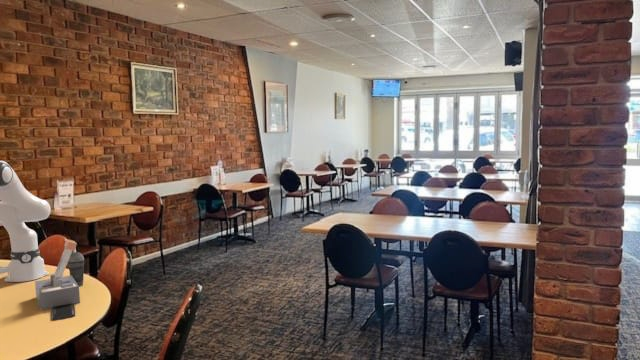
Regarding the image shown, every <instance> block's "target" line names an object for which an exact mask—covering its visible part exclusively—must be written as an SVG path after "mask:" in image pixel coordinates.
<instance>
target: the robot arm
mask: <svg viewBox="0 0 640 360" xmlns="http://www.w3.org/2000/svg"><path fill="white" fill-rule="evenodd" d="M51 209H52V208H51V205H50V203H49V202H48V201H47V200H45V199H43V198H40V197H37V196H36V195H34V194H33V193H31V192H30V191H28V189H26V188H25V186H24V184H23V183H22V182H21V180H20V178H19V175H17V173H16V172H15V170H14V169H13V168H12V167H11V166H10V164H8V162H7V161H4V160H2V159H1V160H0V224H1V226H3V227H4V229H5V230H6V231H7V233H8V235H9V241H10V248H11V251H10V259H11V261H9V263H8V264H7V266H4V265H2V266H1V265H0V275H3V274H6V273H7V276H6V277H5V279H3V280H4V282H7V283H8V282H11V283H22V282H29V281H35V280H38V279H41V278H43V277H46V276H50V272H49V271H47V270H46V269H45V261H44V258H42V257H41V256H40V255H41V253H40V252H41V251H40V248H39V245H38V244H39V243H38V233H37V232H36V231H35V230H34V229H33V228H32V229H31V228H29V227H28V226H27V225H26V223H30V222H32V223H33V222H40V221H44V220H46V219H48V218H49V216H50V214H51V211H52V210H51Z"/></svg>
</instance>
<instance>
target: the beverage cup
mask: <svg viewBox="0 0 640 360" xmlns="http://www.w3.org/2000/svg"><path fill="white" fill-rule="evenodd" d="M84 265H85V257H84V256H83V254H82V253H81V252H78V251H75V250H74V251H73V250H72V253H71V255H70V258H69V260H68V263H67V267H68V270H69V276H70V275H72V277H73V278H74V280H75V281H76V283H77V284H78V286H79V287H82V286H84V277H85V276H84V274H85V271H84V269H85V267H84Z"/></svg>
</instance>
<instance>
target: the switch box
mask: <svg viewBox="0 0 640 360" xmlns="http://www.w3.org/2000/svg"><path fill="white" fill-rule="evenodd" d="M54 274H55V273H51V274H50V273H49V276H50V277H49V278H48V279H43V280H42V279H41V280H38V281H37V280H36V281H35V280H34V281H35V282H34V283H35V284H34V285H35V286H34V287H35V295H36V296H35V297H36V300H37V303H38V307H39V309H40V311H46V310H52V307H54V306H60V305H66V304H72V303H73V304H74V305H75V304H80V303H81V297H80V286H78V284H77V283H76V281H75V280H74V278H73V277H72V275H70V274H69V275H66V276H65V275H64V276H62V278H61V279H56V280H53V279H52V278H53V276H54Z"/></svg>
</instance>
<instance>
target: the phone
mask: <svg viewBox="0 0 640 360" xmlns="http://www.w3.org/2000/svg"><path fill="white" fill-rule="evenodd" d="M75 308H76V307H75V304H73V303H72V304H66V305H60V306H54V307H52V309H51V321H59V320H65V319H71V318H75V317H76V309H75Z"/></svg>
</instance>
